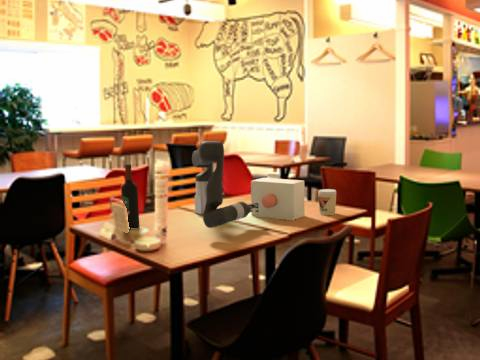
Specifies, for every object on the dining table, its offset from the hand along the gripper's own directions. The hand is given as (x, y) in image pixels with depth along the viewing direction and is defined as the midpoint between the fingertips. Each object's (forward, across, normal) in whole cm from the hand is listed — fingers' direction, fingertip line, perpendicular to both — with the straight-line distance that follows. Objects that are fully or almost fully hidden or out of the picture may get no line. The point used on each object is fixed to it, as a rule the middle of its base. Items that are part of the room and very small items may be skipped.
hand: (257, 204), depth 263 cm
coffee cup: (+36, -20, +9) cm, 42 cm away
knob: (+15, 0, +3) cm, 15 cm away
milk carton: (+35, +11, +9) cm, 37 cm away
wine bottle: (-34, +49, +9) cm, 61 cm away
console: (+20, 0, +9) cm, 22 cm away
